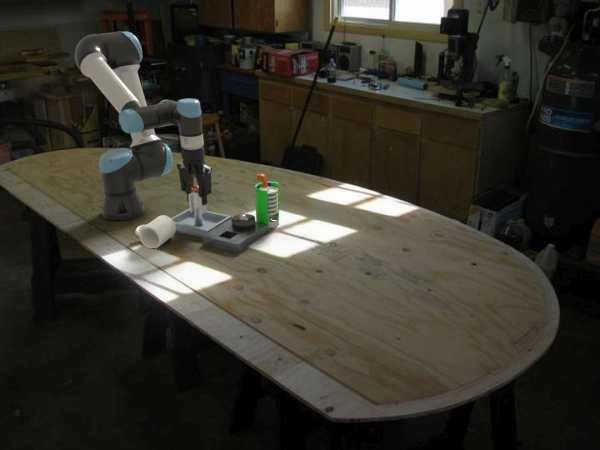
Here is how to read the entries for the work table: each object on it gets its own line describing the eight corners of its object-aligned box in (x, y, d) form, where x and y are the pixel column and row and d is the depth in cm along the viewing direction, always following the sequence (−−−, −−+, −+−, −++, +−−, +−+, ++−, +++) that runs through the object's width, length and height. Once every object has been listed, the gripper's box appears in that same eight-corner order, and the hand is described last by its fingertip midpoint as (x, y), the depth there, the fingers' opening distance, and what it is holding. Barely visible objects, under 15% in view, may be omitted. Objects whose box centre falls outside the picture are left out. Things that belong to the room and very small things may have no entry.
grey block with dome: (203, 244, 198) (201, 225, 195) (234, 224, 212) (233, 207, 210) (238, 252, 192) (237, 234, 189) (268, 231, 206) (267, 214, 204)
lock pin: (191, 225, 210) (188, 187, 205) (198, 221, 214) (195, 183, 208) (200, 227, 209) (197, 189, 203) (207, 223, 212) (204, 185, 206)
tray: (166, 229, 210) (165, 221, 209) (191, 214, 221) (191, 207, 220) (208, 239, 202) (207, 230, 201) (232, 223, 213) (231, 216, 212)
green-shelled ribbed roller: (275, 229, 208) (274, 180, 201) (253, 228, 210) (250, 179, 202) (281, 219, 216) (280, 171, 209) (260, 217, 218) (257, 170, 210)
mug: (177, 238, 203) (175, 216, 200) (161, 250, 194) (159, 228, 191) (146, 233, 207) (143, 212, 203) (129, 245, 198) (126, 223, 195)
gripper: (165, 146, 200) (172, 211, 210) (206, 153, 193) (211, 220, 202) (179, 140, 206) (186, 204, 216) (219, 146, 199) (224, 212, 208)
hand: (198, 211), depth 209 cm, fingers open, 4 cm apart
